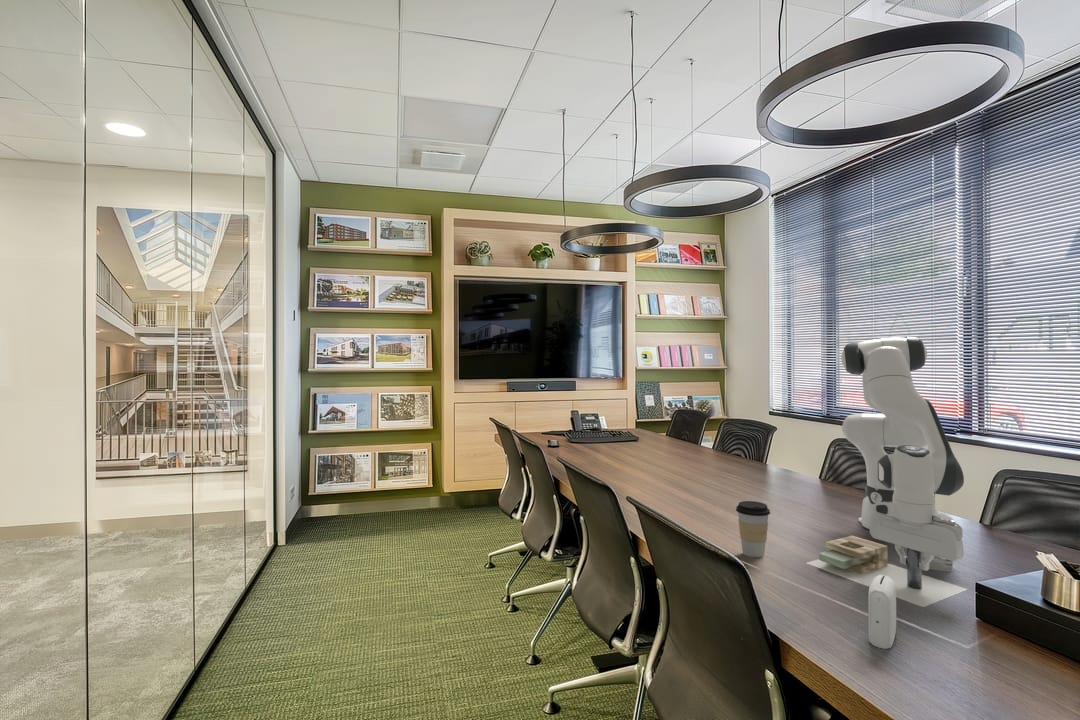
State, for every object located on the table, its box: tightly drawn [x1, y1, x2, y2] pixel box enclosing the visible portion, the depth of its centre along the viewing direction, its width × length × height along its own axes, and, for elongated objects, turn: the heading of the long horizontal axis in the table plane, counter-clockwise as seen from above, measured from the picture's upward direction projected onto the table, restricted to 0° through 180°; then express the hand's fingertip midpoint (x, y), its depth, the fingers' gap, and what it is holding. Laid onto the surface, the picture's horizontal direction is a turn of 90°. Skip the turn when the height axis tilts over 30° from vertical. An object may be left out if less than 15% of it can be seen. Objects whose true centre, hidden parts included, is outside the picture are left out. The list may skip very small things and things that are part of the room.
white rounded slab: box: [867, 575, 897, 650], centre depth 108 cm, size 10×4×12 cm, turn 140°
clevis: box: [818, 535, 888, 574], centre depth 145 cm, size 17×10×6 cm, turn 117°
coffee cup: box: [735, 500, 771, 558], centre depth 155 cm, size 9×9×15 cm
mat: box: [806, 558, 969, 608], centre depth 138 cm, size 20×30×1 cm, turn 27°
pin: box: [906, 548, 923, 589], centre depth 131 cm, size 3×3×10 cm
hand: (914, 566), depth 131 cm, fingers closed on pin, 3 cm apart
